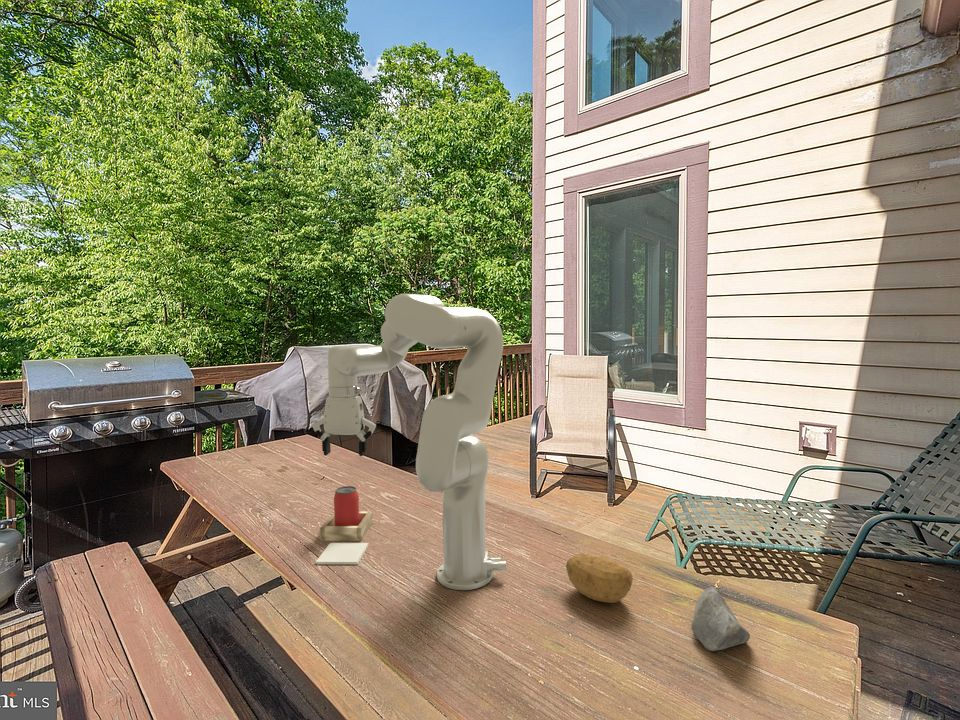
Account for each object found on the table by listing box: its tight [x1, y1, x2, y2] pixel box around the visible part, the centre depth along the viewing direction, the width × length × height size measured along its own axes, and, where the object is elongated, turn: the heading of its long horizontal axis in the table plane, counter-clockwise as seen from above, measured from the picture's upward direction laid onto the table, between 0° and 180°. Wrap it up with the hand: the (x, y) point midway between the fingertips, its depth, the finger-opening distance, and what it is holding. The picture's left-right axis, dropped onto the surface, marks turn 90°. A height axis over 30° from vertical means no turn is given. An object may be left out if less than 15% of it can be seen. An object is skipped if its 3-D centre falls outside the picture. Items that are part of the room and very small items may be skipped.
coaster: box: [315, 542, 369, 565], centre depth 120 cm, size 10×10×1 cm
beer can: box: [333, 485, 360, 526], centre depth 132 cm, size 7×7×12 cm
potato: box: [565, 553, 633, 604], centre depth 99 cm, size 10×14×8 cm
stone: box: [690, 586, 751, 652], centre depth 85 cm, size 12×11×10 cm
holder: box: [319, 511, 373, 542], centre depth 133 cm, size 11×11×4 cm
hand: (344, 454), depth 131 cm, fingers open, 9 cm apart
